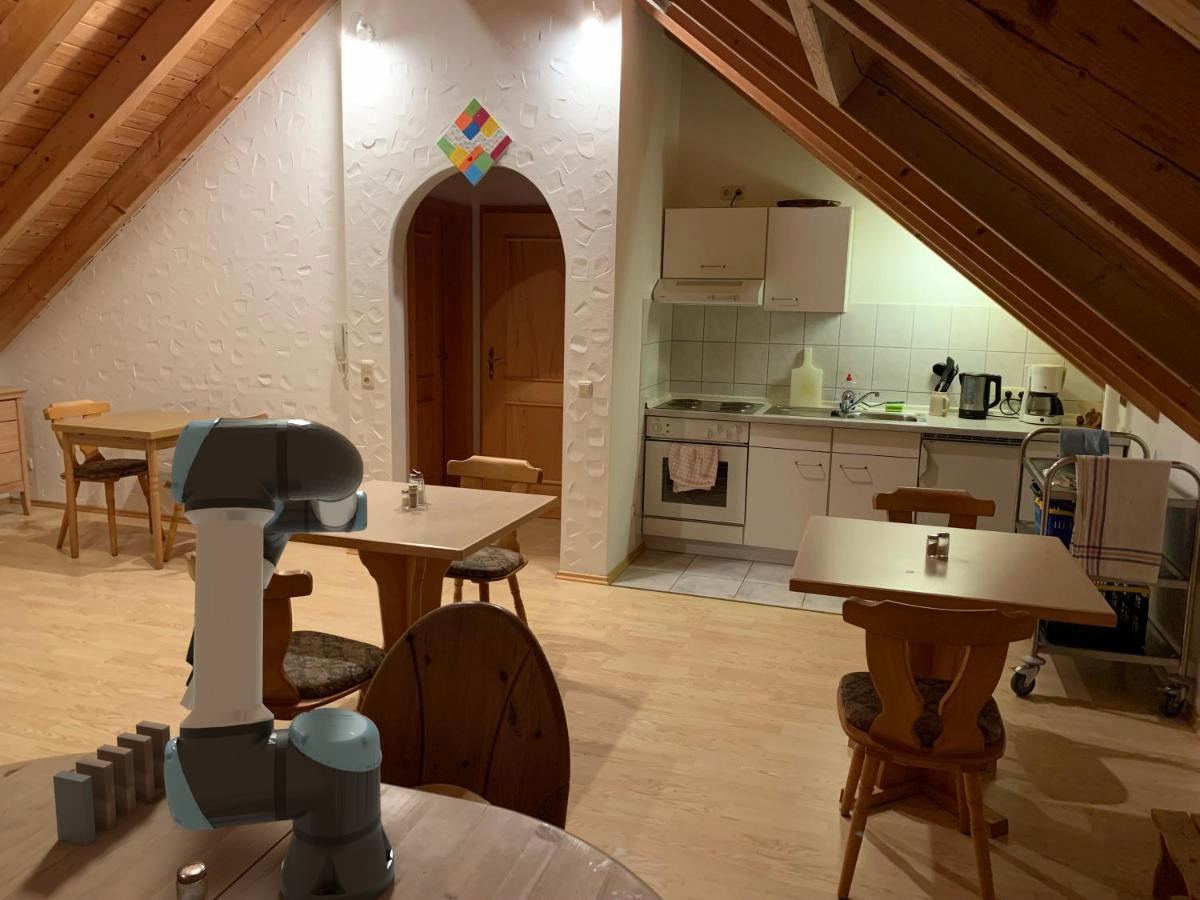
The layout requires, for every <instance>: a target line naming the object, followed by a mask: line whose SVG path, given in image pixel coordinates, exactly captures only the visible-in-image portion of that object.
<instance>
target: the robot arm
mask: <svg viewBox="0 0 1200 900" xmlns="http://www.w3.org/2000/svg"><path fill="white" fill-rule="evenodd" d="M176 441H177V442H176V444H175V448H174V453H173V456H172V457H173V458H172V464H171V469H170V470H171V472H170V480H171V484H170V493H171V497H172V501H173V502H174V503H176V504H178V505H180V506H182V505H183V508H184V509H183V510H184V511H183V515H184V517H185V518H186V519H187V520H188V521H189V522H190V523H191V524H192V525H193V526H194V527H195V564H194V565H195V567H194V568H195V570H194V571H195V575H194V581H195V582H194V614H193V617H194V619H193V620H194V622H193V623H194V625H193V628H192V629H193V630H192V633H191V634H192V635H191V636H190V637H191V638H190V641H189V645H188V650H187V652H186V653H187V654H186V657H185V662H186V663H188V664H189V665H190V666H191V667H192V670H191V671H190V674H189V676H188V678H187V680H186V682H185V686H186V687H187V688H186V690H185V691H184V695H182V696H183V697H182V699H181V700H180V703H179V705H180V706H182V707H183V708H184V709H186V710H188V711H190V713H188V715H187V716H186V717H185V718H184V719H183V720H182V721H181V722H179V735H178V736H174V737H173V738H170V740H169V741H168V743H167V745H166V748H165V763H164V780H165V787H164V788H165V795H166V801H167V806H168V810H169V813H170V815H171V817H172V820H173V821H174V823H175V825H176V826H178V827H179V828H180V829H182V830H185V831H198V830H202V831H203V830H211V831H218V830H219V829H223V828H232V827H240V826H249V825H250V826H251V825H259V824H260V825H261V824H266V823H277V822H283V821H284V822H285V821H291V820H292V822H291V823H292V833H291V836H290V838H289V839H290V840H289V842H288V845H287V849H286V851H285V855H284V858H283V861H282V863H281V865H280V871H279V883H280V885H279V887H280V893H281V895H282V898H283V899H284V900H376V899H377V898H378V897H380V896H381V895H382V894H383V893H384V892H385V891H386V890H387V889H388V888H389V886H390V885H391V883H392V881H393V880H394V879H393V878H394V876H395V875H394V874H395V856H394V851H393V849H392V848H393V847H392V845H391V842H390V839H389V838H388V834H387V832H386V830H385V828H384V825H383V823H382V822H383V821H382V802H381V801H382V800H381V799H382V798H381V797H382V796H381V795H382V794H381V793H382V791H381V763H382V761H383V754H382V750H381V741H380V732H379V729H378V728H377V726H376V724H375V723H374V721H372V720H371V719H370V718H368V717H367V716H366V715H363V714H361V713H360V712H357V711H356V710H351V709H347V708H342V707H341V708H339V707H319V708H313V709H310V710H309V712H308V711H307V712H306V711H303V712H301V713H299V714H298V715H297V716H295V717H294V718H293V719H292V721H291V723H290V724H289V727H288V728H279V729H277V728H275V715H274V713H272V712H271V711H270V710H269V709H268V708H267V707H266V706H265V704H264V703H263V649H264V648H263V643H264V641H263V638H264V637H263V633H264V632H263V631H264V628H263V627H264V626H263V625H264V623H263V621H264V614H263V613H264V611H263V610H264V608H263V607H264V596H265V589H267V588H268V586H269V584H270V582H271V580H272V576H273V574H274V572H275V570H276V568H277V565H278V564H279V561H280V559H281V557H282V555H283V553H284V550H285V548H286V546H287V545H288V541H290V539H291V537H293V535H294V534H295V535H297V534H298V535H299V534H301V535H302V534H315V533H317V534H319V533H322V534H323V533H324V534H325V533H328V534H329V533H346V534H350V533H352V532H362V531H365V530H366V529H367V528H368V494H367V493H366V492H365V491H362V490H360V491H359V490H358V489H359V488H360V486H361V484H362V481H363V478H364V461H363V458H362V455H361V453H360V452H359V449H358V448H357V446H355V444H354V443H353V442H352V441H351V440H350V439H349V438H348V437H346V436H345V435H343V434H342V433H341V432H339V431H337V430H335V429H334V428H331V427H330V426H327V425H325V424H322V423H320V422H317V421H313V420H309V419H305V418H292V417H291V418H290V417H289V418H259V417H258V418H257V417H255V418H252V417H250V418H249V417H248V418H247V417H246V418H245V417H217V418H211V419H195V420H191V421H190V422H187V424H185V425H184V427H183V428H182V430H181V431H180V433H179V436H178V438H177V440H176Z"/></svg>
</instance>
